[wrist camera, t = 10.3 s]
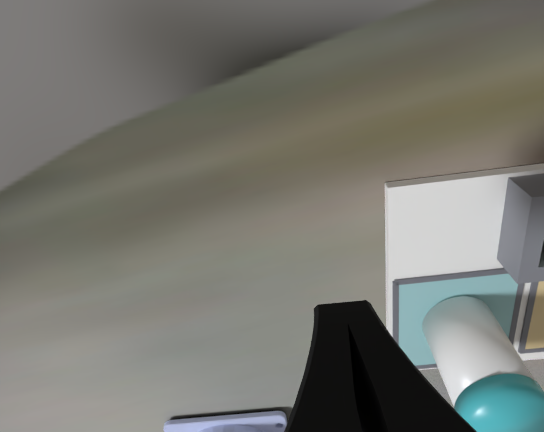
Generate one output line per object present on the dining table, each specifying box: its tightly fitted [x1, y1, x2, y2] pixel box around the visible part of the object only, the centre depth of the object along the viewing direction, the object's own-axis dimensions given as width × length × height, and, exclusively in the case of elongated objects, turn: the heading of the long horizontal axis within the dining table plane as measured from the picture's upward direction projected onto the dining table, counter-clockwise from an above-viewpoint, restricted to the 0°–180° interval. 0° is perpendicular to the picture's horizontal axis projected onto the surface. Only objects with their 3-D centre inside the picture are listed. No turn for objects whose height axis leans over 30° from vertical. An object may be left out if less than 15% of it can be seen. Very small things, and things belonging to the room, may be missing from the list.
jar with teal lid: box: [422, 296, 544, 432], centre depth 20 cm, size 4×4×6 cm
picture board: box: [385, 163, 544, 370], centre depth 21 cm, size 12×13×3 cm
